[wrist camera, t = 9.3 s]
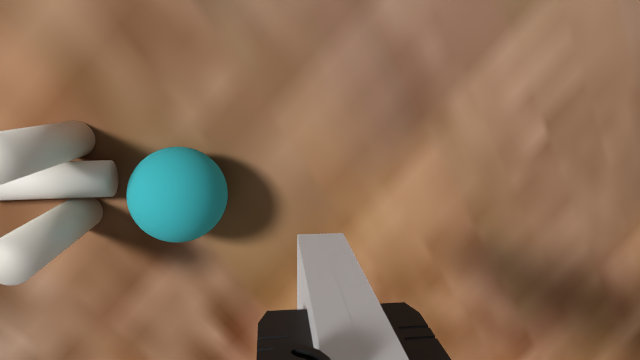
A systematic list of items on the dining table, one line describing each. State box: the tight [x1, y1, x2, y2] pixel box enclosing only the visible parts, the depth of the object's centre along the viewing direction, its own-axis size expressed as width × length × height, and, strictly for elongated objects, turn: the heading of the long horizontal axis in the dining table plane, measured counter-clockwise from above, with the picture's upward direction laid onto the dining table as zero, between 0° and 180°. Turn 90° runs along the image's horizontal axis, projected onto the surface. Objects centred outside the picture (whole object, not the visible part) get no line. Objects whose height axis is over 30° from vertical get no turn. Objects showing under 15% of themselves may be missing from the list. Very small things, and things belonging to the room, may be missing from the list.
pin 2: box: [0, 197, 103, 285], centre depth 24 cm, size 2×2×8 cm
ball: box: [126, 147, 228, 242], centre depth 26 cm, size 6×6×6 cm
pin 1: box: [0, 121, 95, 185], centre depth 23 cm, size 2×2×8 cm
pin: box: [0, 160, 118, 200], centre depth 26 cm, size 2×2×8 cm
